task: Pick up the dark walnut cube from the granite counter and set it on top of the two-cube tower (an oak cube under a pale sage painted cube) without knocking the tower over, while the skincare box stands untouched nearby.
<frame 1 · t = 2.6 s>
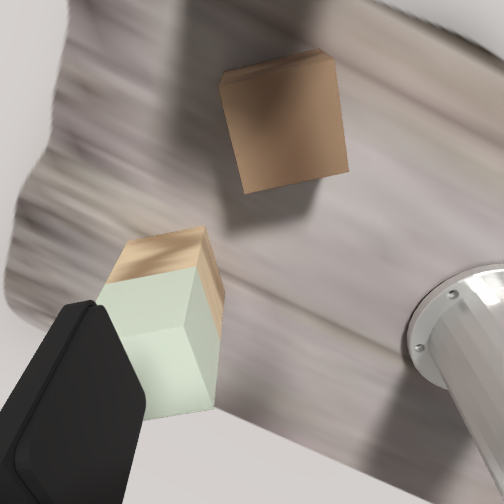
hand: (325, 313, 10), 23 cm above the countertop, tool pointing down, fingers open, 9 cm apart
walnut block: (280, 108, 30), on the countertop
oak block: (177, 267, 36), on the countertop, touching sage block
sage block: (164, 313, 30), point 6 cm above the countertop, touching oak block
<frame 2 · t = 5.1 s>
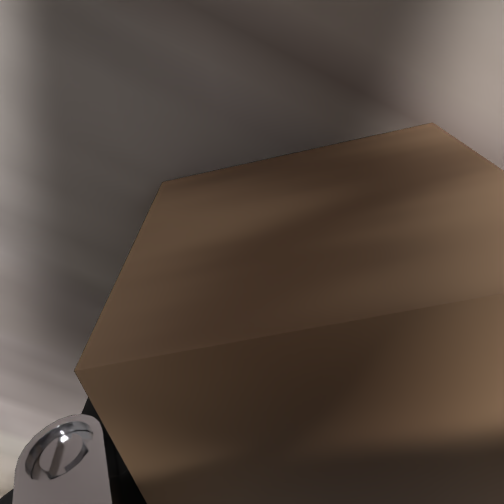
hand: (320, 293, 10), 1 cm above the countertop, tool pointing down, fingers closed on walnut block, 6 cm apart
walnut block: (314, 268, 11), on the countertop, touching gripper
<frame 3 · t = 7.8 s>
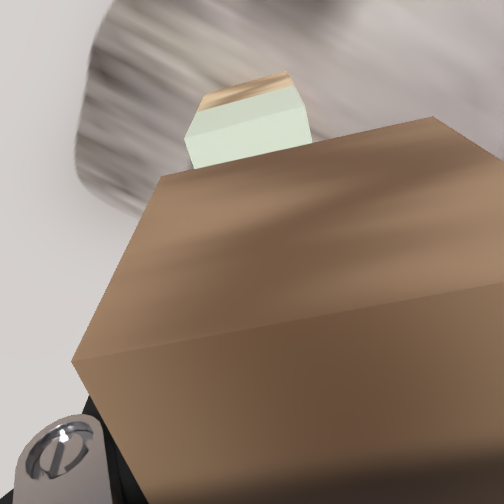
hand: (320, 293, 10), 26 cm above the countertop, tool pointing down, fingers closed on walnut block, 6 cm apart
walnut block: (314, 263, 11), point 24 cm above the countertop, touching gripper
oak block: (256, 124, 34), on the countertop, touching sage block
sage block: (257, 146, 29), point 6 cm above the countertop, touching oak block
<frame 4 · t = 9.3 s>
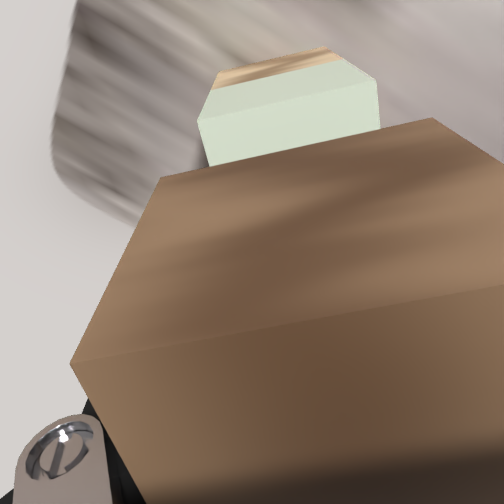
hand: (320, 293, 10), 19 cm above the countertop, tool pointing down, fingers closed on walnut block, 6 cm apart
walnut block: (313, 264, 11), point 18 cm above the countertop, touching gripper
oak block: (281, 112, 27), on the countertop, touching sage block
sage block: (288, 140, 22), point 6 cm above the countertop, touching oak block
when the fingers open (14 cm above the countertop, at t = 10.7 s): walnut block stays where it is, resting on sage block.
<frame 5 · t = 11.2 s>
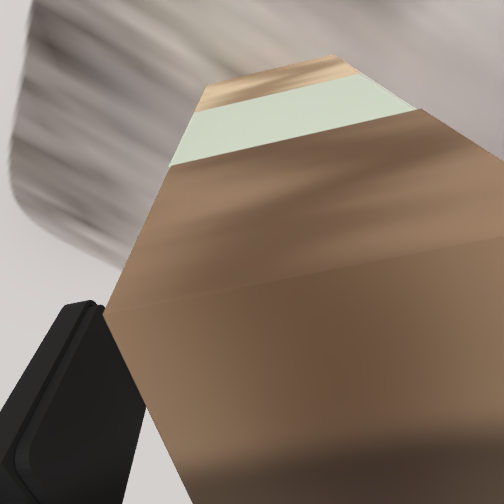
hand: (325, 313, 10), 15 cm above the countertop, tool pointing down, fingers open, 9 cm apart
walnut block: (313, 246, 12), point 12 cm above the countertop, touching sage block
oak block: (281, 132, 23), on the countertop, touching sage block
sage block: (291, 173, 18), point 6 cm above the countertop, touching oak block, walnut block
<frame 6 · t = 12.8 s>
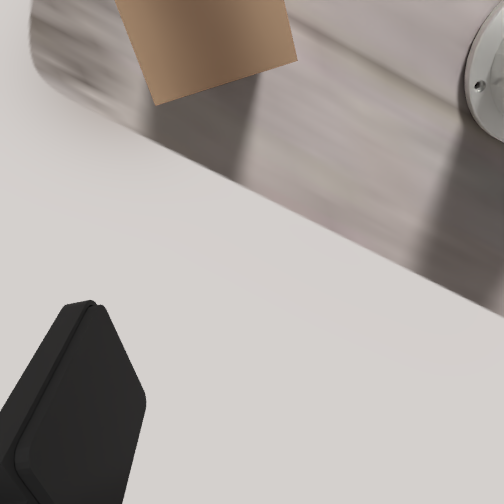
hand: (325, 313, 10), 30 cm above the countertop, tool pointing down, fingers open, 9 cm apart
walnut block: (208, 1, 22), point 12 cm above the countertop, touching sage block
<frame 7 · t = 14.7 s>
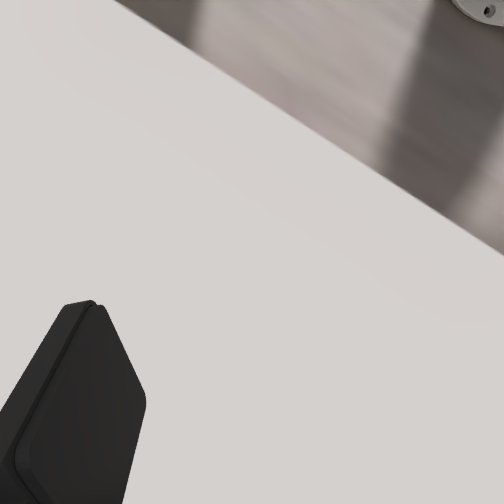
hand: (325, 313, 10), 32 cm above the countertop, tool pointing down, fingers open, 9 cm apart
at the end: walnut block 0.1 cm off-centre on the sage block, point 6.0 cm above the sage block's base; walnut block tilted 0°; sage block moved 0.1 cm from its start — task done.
